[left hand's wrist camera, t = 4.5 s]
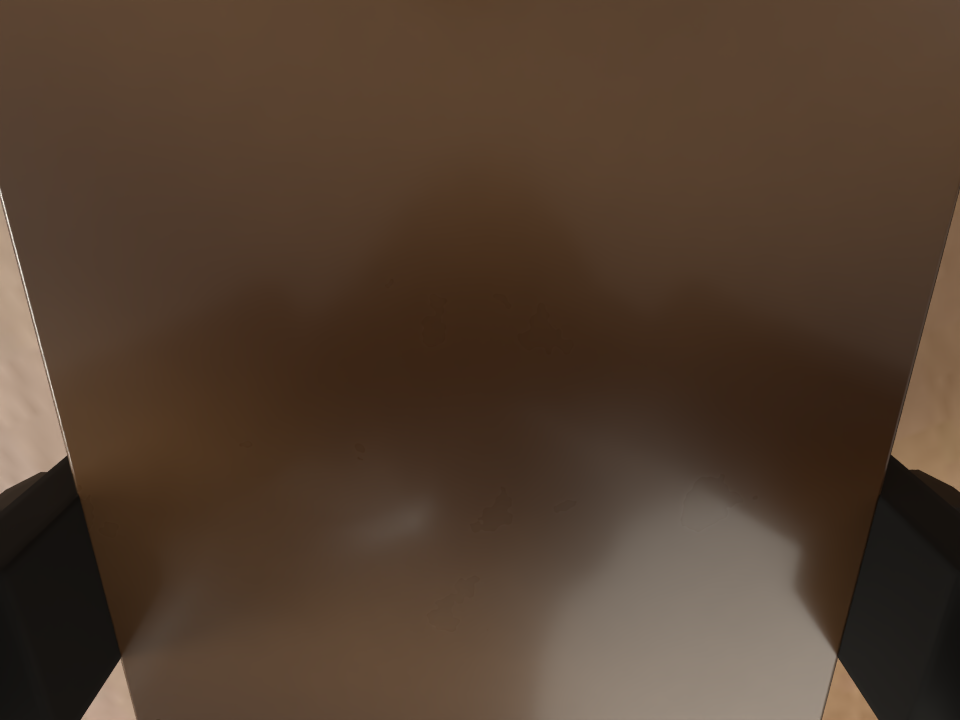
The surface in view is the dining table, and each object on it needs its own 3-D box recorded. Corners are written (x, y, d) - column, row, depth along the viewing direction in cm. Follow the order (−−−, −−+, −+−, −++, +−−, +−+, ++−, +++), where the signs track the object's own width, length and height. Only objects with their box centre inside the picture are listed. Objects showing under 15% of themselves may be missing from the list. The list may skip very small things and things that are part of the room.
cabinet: (233, -190, 14) (-266, -794, 4) (725, -190, 14) (1220, -792, 4) (307, 483, 19) (158, 809, 10) (650, 483, 19) (800, 809, 10)
